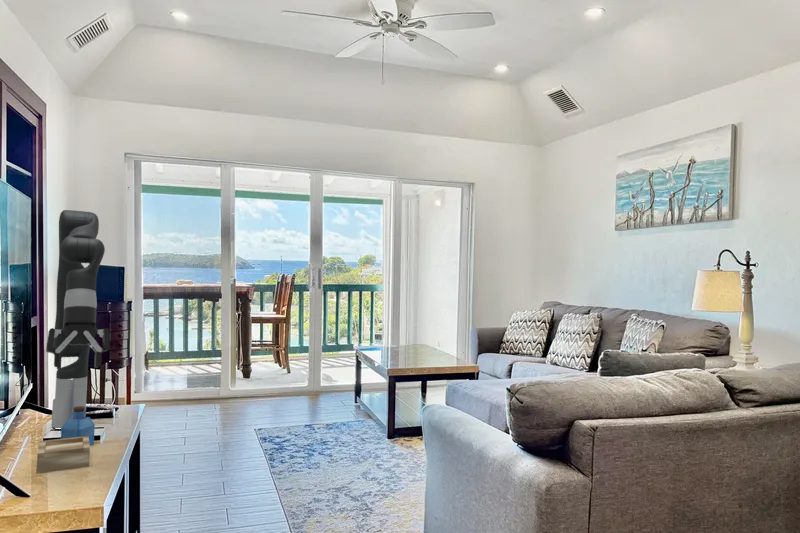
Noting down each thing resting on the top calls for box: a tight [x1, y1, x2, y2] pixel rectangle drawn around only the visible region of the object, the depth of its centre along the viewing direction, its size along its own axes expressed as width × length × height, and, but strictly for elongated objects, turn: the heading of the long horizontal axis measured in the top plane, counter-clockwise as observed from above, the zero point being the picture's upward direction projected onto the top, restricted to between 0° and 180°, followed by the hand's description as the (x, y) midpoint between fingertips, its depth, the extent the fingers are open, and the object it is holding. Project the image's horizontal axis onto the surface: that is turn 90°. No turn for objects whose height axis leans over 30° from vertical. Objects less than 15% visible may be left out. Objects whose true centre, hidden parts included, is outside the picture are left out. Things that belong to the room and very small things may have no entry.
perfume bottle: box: [60, 406, 96, 447], centre depth 161 cm, size 6×6×12 cm
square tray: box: [35, 436, 91, 474], centre depth 147 cm, size 12×12×5 cm
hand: (77, 368), depth 138 cm, fingers open, 8 cm apart
